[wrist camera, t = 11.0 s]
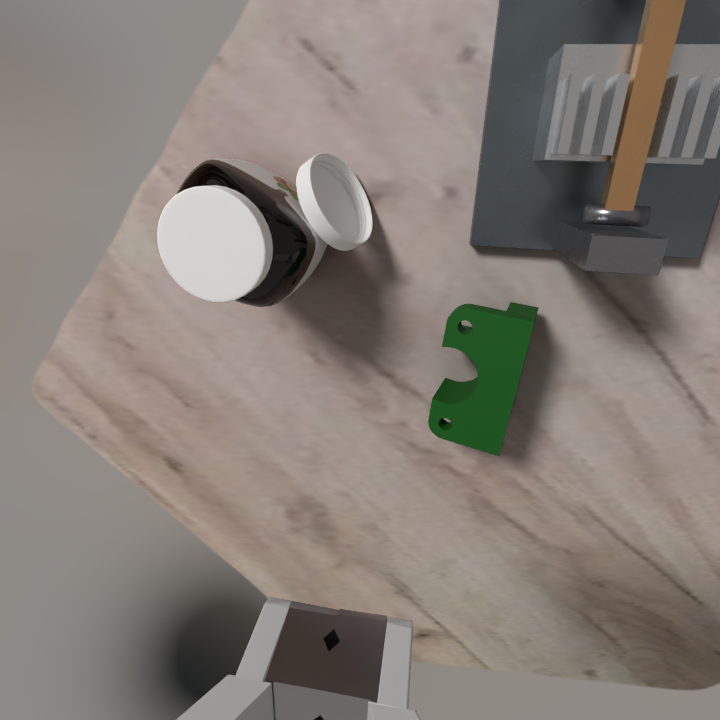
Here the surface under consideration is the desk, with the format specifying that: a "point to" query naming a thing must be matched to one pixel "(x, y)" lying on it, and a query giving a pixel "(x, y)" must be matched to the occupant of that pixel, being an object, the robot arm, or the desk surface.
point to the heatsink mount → (595, 133)
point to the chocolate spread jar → (259, 227)
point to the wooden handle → (638, 117)
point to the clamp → (483, 375)
